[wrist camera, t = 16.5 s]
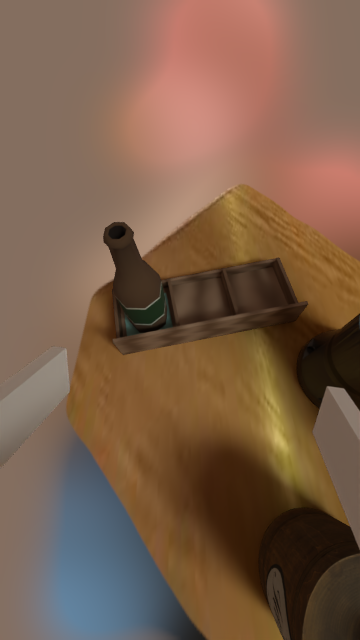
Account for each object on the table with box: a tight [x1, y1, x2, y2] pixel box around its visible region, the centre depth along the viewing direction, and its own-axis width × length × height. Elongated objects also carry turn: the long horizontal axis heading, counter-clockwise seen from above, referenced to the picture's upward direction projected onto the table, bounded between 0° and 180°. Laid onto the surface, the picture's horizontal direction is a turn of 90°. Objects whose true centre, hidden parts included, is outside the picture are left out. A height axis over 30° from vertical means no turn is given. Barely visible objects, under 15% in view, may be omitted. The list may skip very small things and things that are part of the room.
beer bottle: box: [103, 222, 167, 333], centre depth 43 cm, size 8×8×24 cm
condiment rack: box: [112, 258, 308, 355], centre depth 52 cm, size 34×13×7 cm, turn 101°
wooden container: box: [259, 508, 360, 640], centre depth 28 cm, size 15×15×22 cm
